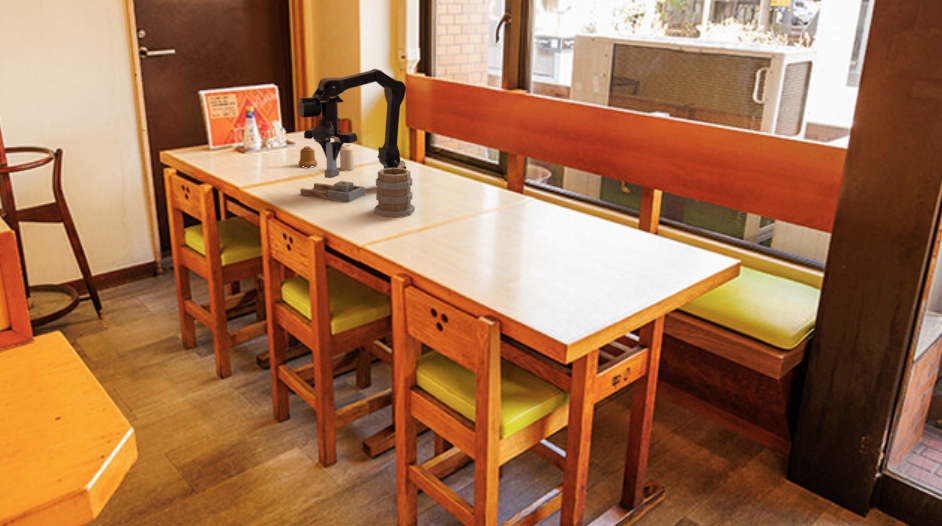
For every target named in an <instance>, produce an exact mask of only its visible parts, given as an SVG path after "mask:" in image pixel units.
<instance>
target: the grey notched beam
mask: <svg viewBox="0 0 942 526" xmlns="http://www.w3.org/2000/svg"><path fill="white" fill-rule="evenodd" d="M331 142H332V141H330V142H328V143H326V156H325V158H326V169H325V170H324V178H326V179H332V178H335V177H338V176H340V168H338V166H337V165H338V164H337V159H336V160H334V159H333V146H332V144H331Z"/></svg>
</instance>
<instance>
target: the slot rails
mask: <svg viewBox="0 0 942 526" xmlns="http://www.w3.org/2000/svg"><path fill="white" fill-rule="evenodd" d="M318 189H321V190H318ZM324 190H326V191H324ZM328 190H332V191H334V184H328V183H327V184H326V183H320V182H314V183H313V189H311V188H305V187H302V188H300V195H301V194H303V195H302V196H307V195H310V196H309V197H313V196H316V197H315V198H320V197H321V199H327V191H328Z"/></svg>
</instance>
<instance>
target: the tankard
mask: <svg viewBox="0 0 942 526" xmlns="http://www.w3.org/2000/svg"><path fill="white" fill-rule="evenodd" d="M405 166H406V162H405V161H404V160H400V163H399V165H398V167H397V168H386V169H384V168H381V169H380V170H378V172H377V178H376V179H375V186H376V187H377V192H376V193H375V196H376V197H375V200H376V201H377V202H378V204H377V205H376V206H375V207H374V208H373V209H374V210H373V211H374V212H375V214H378V215H379V216H381V217H386V216H387V217H386V218H401V217H400V216H402V217H407V216H406V215H408V216H411V215H412V214H413V213H414V212H415V209H416V208H415V207H416V206H415V205H413V204H411V201H412V200H413V192H412V191H411V190H412V189H411V186H413V178H412V177H411V170H409V169H407V168H406V169H404V168H403V167H405Z"/></svg>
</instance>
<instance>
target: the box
mask: <svg viewBox="0 0 942 526" xmlns="http://www.w3.org/2000/svg"><path fill="white" fill-rule="evenodd" d="M326 192H327V198H326V199H327V200H332V201H339V202H346V203H351V202H353V201H355V200H357V199H360V198H361V197H363V196H365V193H366V192H365V186H361V185H354V184H353V191H351V192H349V193H345V192H339V191H332V190H328V191H326Z"/></svg>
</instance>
